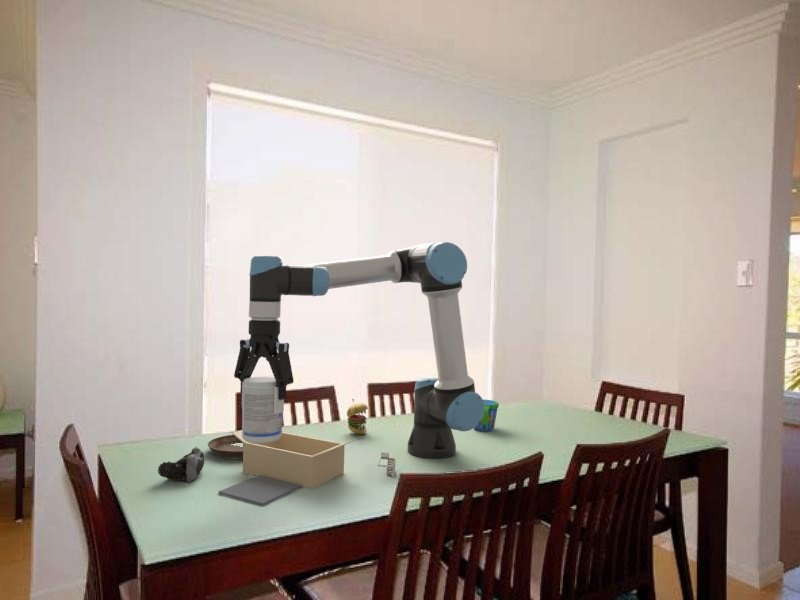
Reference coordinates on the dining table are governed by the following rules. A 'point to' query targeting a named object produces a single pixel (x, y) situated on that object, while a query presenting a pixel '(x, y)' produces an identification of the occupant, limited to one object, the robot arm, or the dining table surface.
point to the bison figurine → (183, 466)
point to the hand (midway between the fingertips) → (262, 409)
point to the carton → (294, 459)
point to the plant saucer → (226, 447)
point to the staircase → (386, 456)
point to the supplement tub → (260, 411)
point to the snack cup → (488, 416)
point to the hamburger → (357, 418)
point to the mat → (260, 490)
